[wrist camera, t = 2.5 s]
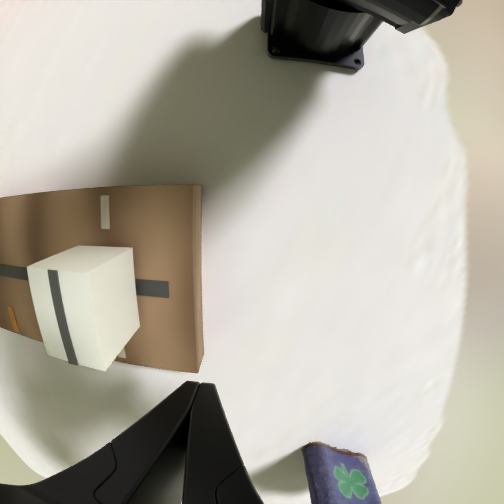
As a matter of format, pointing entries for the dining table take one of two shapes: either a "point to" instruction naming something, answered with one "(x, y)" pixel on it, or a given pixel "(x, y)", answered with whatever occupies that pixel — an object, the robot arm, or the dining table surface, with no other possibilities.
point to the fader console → (115, 235)
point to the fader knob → (85, 303)
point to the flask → (338, 476)
